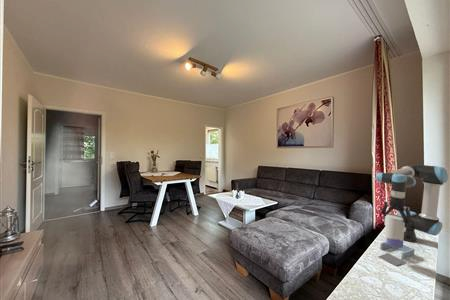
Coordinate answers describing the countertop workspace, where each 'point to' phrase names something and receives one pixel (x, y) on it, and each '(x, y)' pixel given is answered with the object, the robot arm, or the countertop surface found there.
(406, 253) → the cradle
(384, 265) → the countertop surface
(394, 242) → the container
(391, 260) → the mat
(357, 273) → the countertop surface
